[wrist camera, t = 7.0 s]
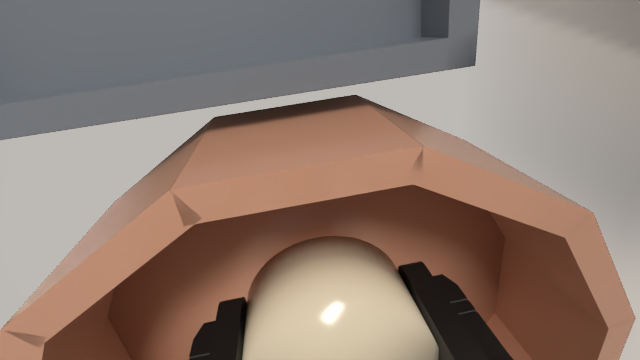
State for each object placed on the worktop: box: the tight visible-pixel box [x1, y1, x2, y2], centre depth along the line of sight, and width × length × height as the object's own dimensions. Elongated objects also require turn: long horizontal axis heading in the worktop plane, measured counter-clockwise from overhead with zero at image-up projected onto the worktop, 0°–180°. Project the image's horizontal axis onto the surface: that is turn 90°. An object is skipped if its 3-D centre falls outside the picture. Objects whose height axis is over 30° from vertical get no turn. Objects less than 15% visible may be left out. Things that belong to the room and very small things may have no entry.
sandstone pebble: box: [242, 236, 439, 360], centre depth 9 cm, size 5×5×3 cm
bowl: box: [0, 95, 635, 360], centre depth 12 cm, size 18×18×6 cm
